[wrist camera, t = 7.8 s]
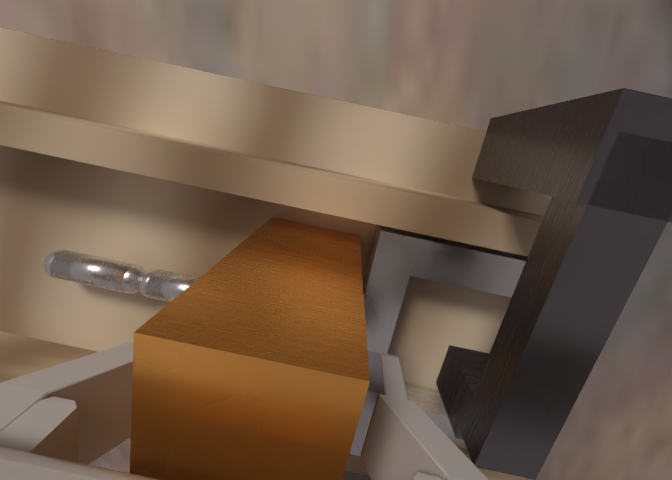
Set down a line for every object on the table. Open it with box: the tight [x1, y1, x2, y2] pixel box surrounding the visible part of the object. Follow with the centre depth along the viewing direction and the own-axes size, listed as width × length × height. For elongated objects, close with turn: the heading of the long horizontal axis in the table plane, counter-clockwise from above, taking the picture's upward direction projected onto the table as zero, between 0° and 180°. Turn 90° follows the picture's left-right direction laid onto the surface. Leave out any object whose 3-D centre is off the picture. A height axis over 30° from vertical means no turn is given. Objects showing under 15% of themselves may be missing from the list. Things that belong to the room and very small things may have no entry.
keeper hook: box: [436, 88, 672, 480], centre depth 8 cm, size 2×8×5 cm, turn 168°
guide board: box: [0, 28, 552, 480], centre depth 11 cm, size 23×14×4 cm, turn 78°
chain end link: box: [43, 217, 528, 480], centre depth 8 cm, size 18×7×7 cm, turn 78°
